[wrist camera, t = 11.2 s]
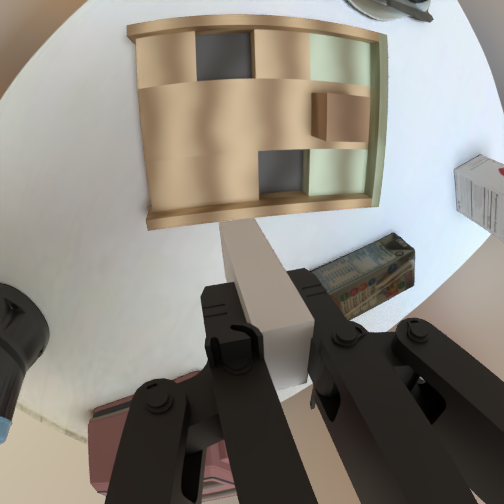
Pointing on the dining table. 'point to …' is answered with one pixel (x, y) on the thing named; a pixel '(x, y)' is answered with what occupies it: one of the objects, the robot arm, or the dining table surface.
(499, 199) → the supplement box
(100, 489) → the toaster
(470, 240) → the dining table surface
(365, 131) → the block
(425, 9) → the salad plate
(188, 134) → the box
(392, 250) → the beverage carton
